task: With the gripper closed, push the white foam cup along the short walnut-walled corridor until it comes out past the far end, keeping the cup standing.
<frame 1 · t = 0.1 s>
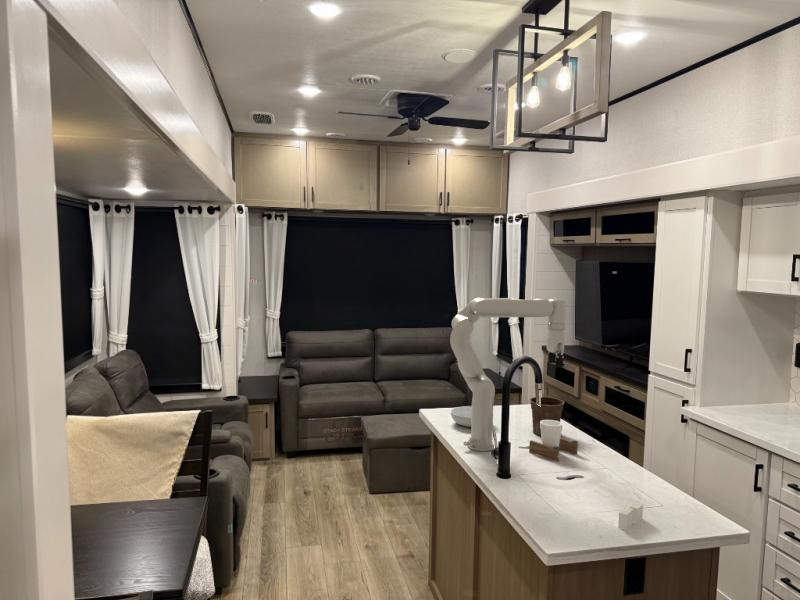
hand: (555, 364, 239), 37 cm above the counter, tool pointing down, fingers open, 9 cm apart
plant pot: (545, 433, 260), on the counter
napkin holder: (632, 525, 169), on the counter
foam cup: (550, 452, 233), on the counter
corridor: (553, 453, 232), on the counter
serving bowl: (470, 425, 273), on the counter
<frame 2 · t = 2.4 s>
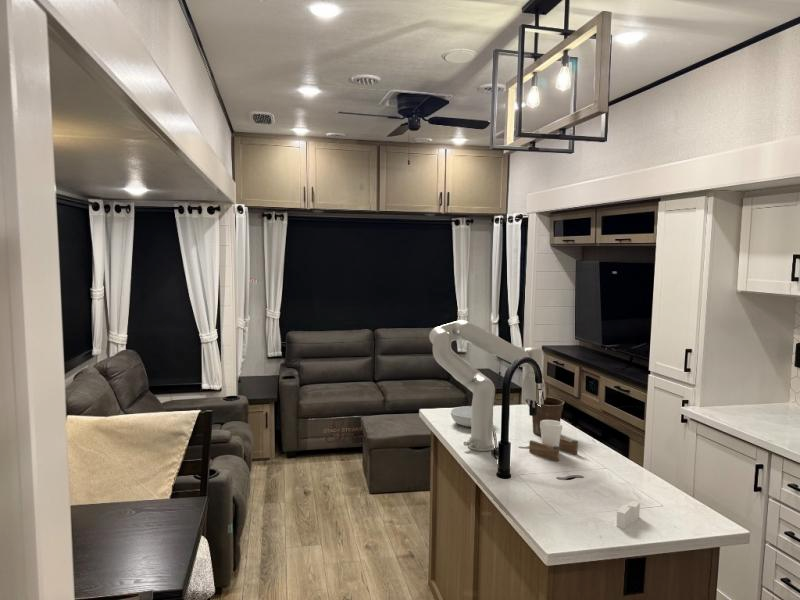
hand: (532, 415, 241), 14 cm above the counter, tool pointing down, fingers closed
napkin holder: (630, 523, 170), on the counter
everything else where it was.
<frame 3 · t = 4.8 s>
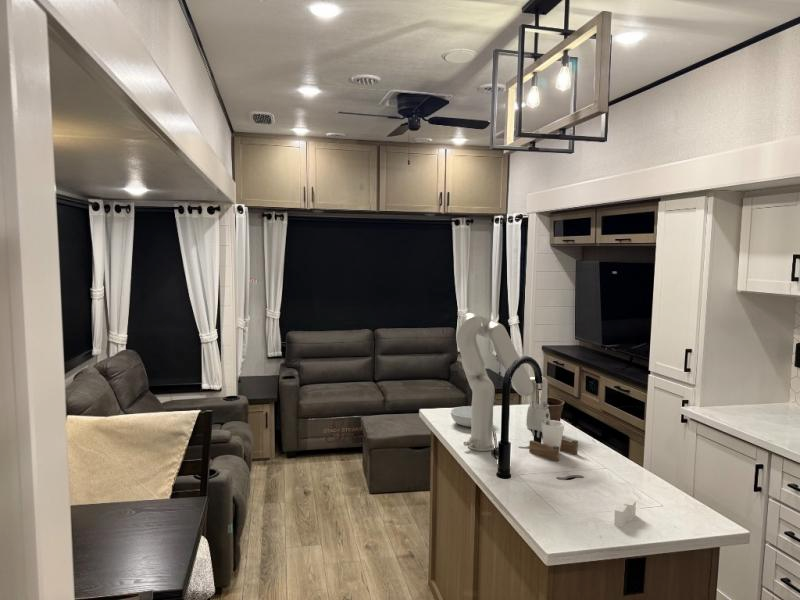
hand: (537, 444, 239), 1 cm above the counter, tool pointing down, fingers closed
napkin holder: (627, 522, 171), on the counter
foam cup: (551, 453, 233), on the counter, touching gripper
everything else where it was.
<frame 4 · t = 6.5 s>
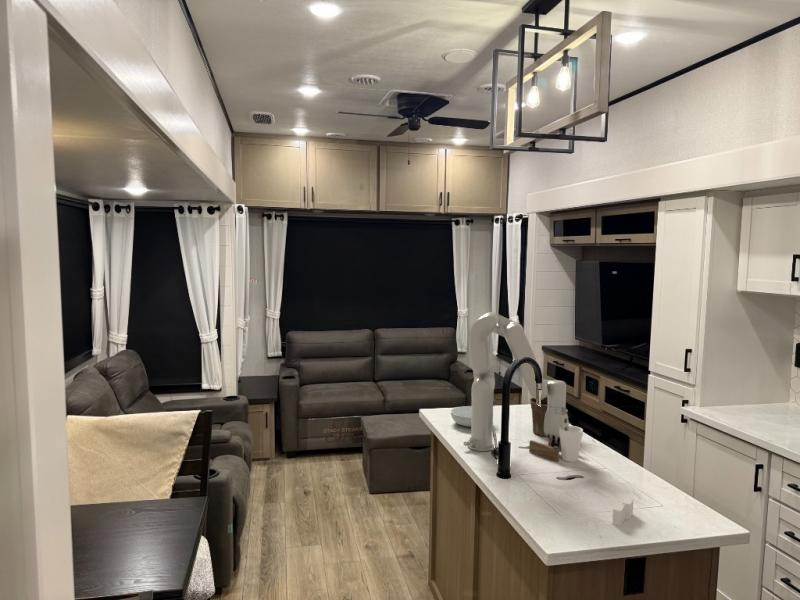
hand: (555, 450, 232), 1 cm above the counter, tool pointing down, fingers closed
foam cup: (569, 459, 225), on the counter, touching gripper
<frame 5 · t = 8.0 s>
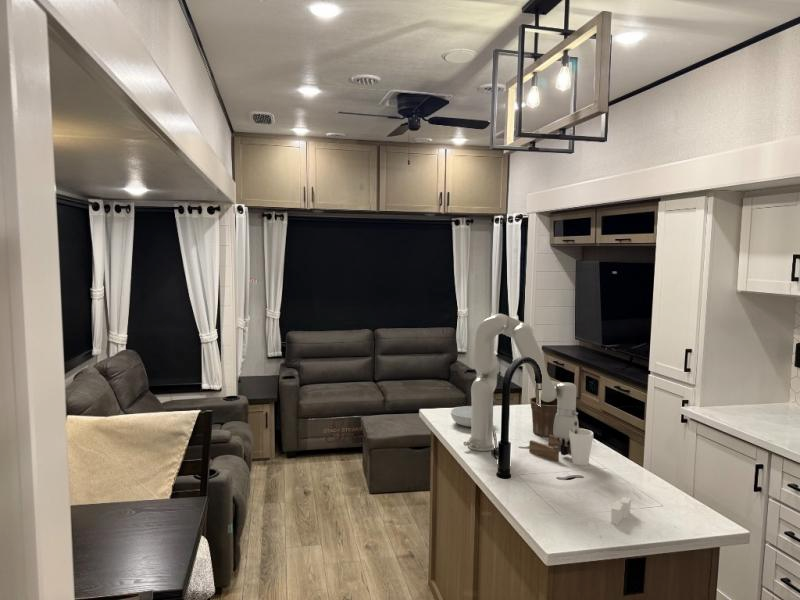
hand: (564, 454, 228), 1 cm above the counter, tool pointing down, fingers closed
foam cup: (580, 463, 221), on the counter, touching gripper
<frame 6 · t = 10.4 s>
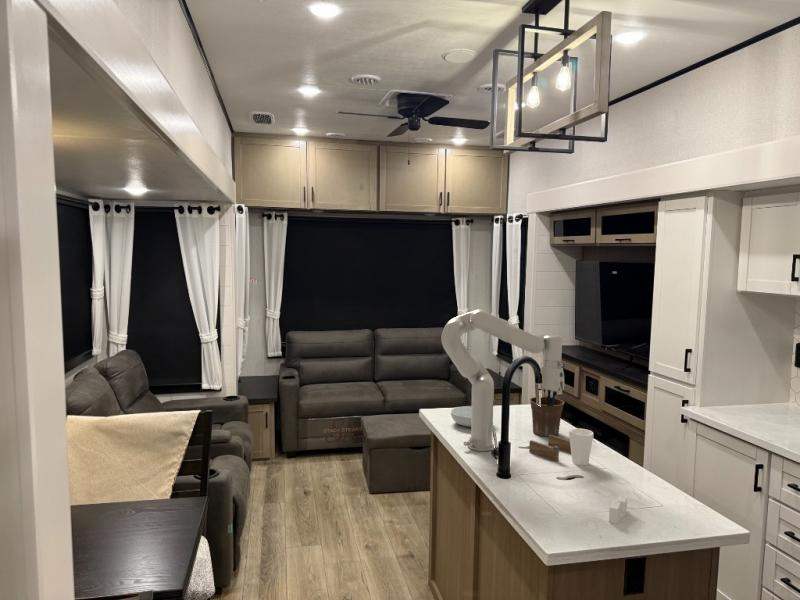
hand: (550, 405, 233), 21 cm above the counter, tool pointing down, fingers closed
napkin holder: (619, 518, 174), on the counter
foam cup: (580, 463, 221), on the counter
everything else where it was.
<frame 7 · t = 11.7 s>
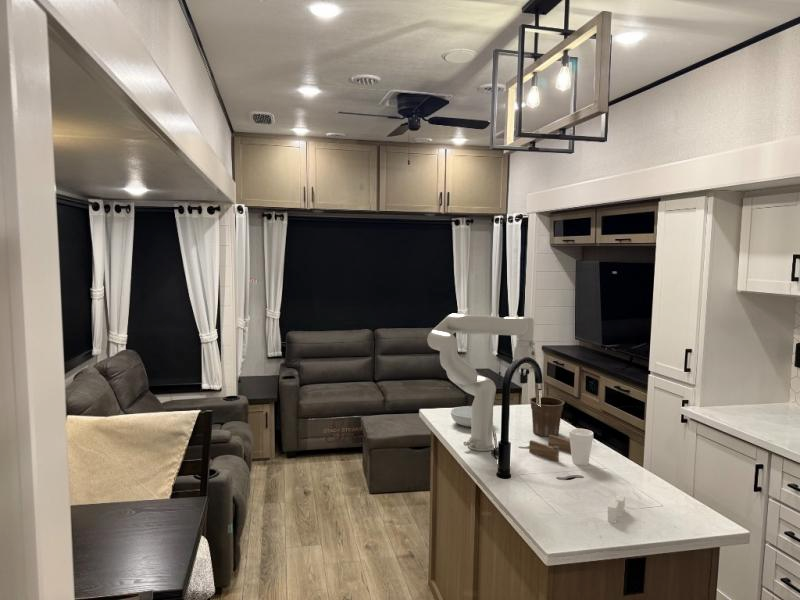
hand: (523, 383, 247), 27 cm above the counter, tool pointing down, fingers closed
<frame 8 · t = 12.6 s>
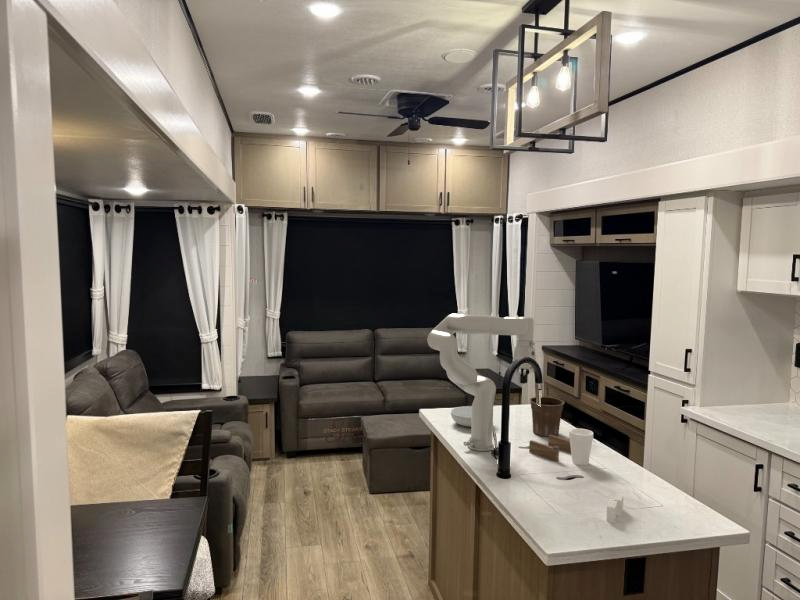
hand: (523, 382, 247), 27 cm above the counter, tool pointing down, fingers closed
at the end: foam cup inside the target area (0.6 cm from its centre), on the counter; foam cup tilted 0° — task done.
